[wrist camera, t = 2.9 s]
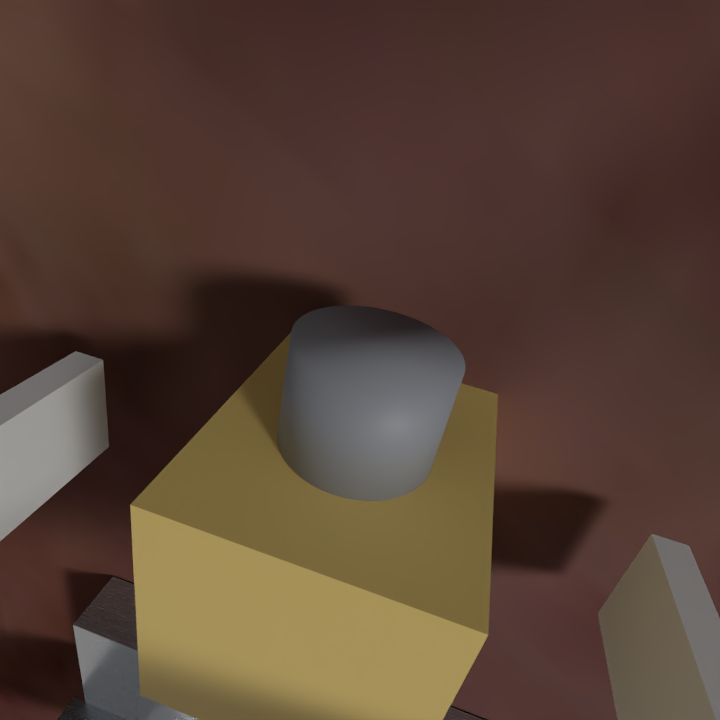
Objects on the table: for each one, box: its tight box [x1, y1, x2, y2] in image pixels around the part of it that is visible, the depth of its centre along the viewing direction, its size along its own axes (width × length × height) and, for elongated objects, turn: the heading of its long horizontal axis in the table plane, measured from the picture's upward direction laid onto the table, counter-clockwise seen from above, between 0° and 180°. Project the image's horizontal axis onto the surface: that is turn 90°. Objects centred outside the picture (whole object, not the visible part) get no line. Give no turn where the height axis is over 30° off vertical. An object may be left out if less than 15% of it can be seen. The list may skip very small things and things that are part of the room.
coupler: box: [130, 305, 498, 720], centre depth 10 cm, size 9×5×6 cm, turn 169°
